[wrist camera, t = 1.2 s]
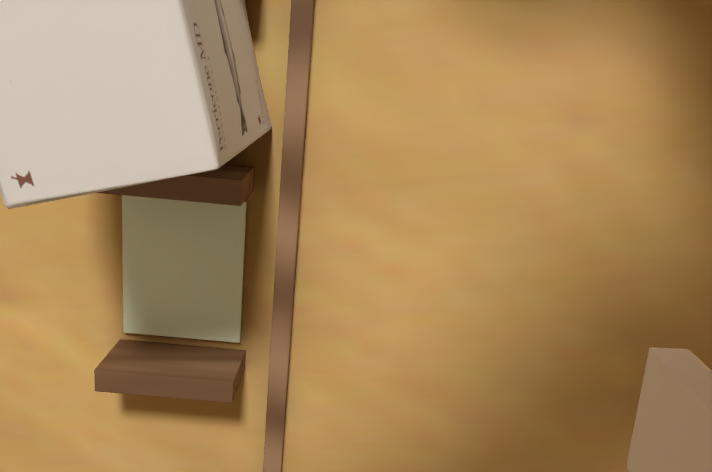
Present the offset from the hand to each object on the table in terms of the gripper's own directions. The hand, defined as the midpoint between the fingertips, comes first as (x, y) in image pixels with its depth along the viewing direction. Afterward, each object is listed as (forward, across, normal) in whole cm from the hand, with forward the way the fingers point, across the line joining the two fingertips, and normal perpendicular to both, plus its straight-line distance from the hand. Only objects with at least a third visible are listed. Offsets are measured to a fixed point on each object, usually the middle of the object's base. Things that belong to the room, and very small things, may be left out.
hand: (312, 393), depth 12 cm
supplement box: (+21, -8, +5) cm, 23 cm away
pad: (+21, -8, -5) cm, 23 cm away
